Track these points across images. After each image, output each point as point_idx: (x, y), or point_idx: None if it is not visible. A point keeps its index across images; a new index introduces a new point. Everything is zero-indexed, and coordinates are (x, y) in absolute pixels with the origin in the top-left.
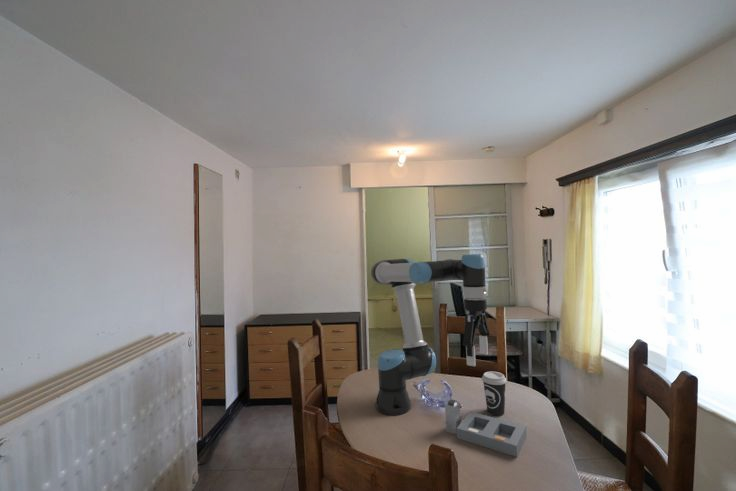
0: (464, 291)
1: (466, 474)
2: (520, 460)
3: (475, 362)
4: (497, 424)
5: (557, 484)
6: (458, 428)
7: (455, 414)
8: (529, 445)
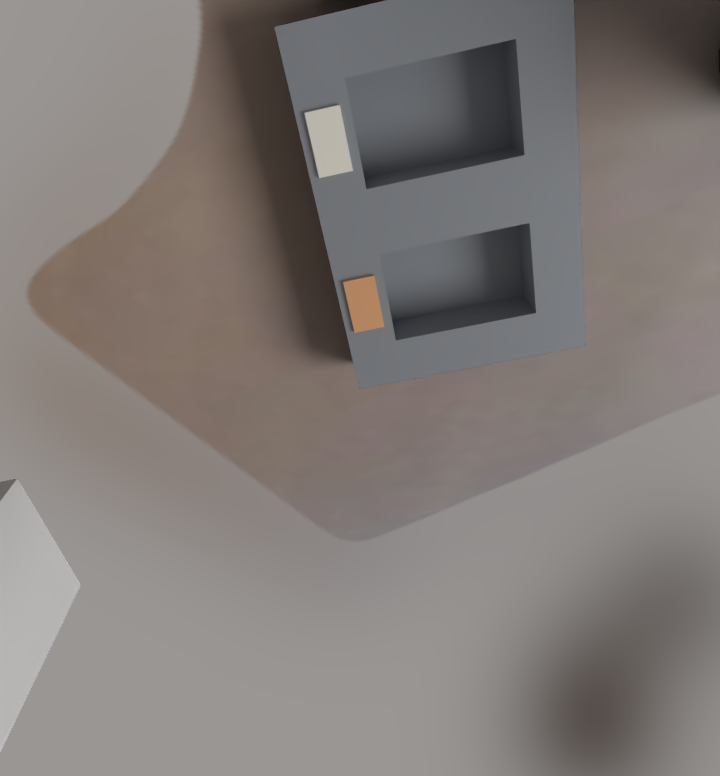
0: None
1: (61, 263)
2: (345, 381)
3: (58, 628)
4: (503, 220)
5: (305, 516)
6: (278, 41)
7: None
8: None
